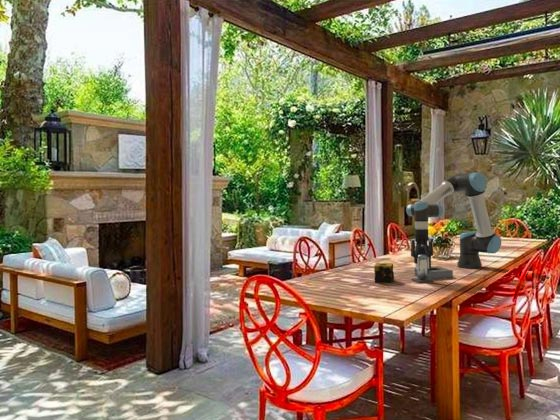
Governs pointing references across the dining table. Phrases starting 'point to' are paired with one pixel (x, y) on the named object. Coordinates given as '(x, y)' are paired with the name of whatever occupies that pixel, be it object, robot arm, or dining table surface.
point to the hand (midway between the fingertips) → (422, 268)
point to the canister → (423, 253)
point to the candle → (384, 272)
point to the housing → (438, 273)
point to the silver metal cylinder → (422, 267)
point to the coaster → (422, 280)
